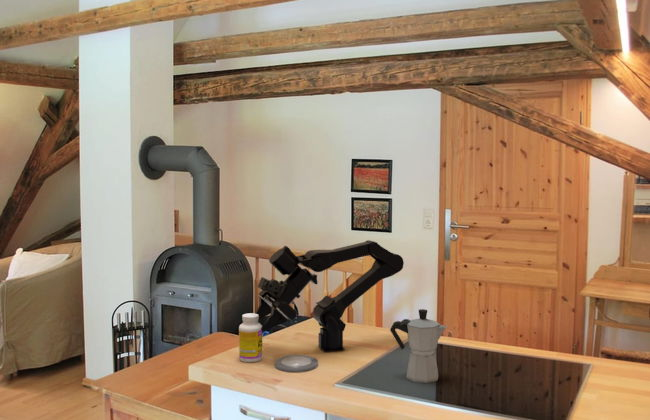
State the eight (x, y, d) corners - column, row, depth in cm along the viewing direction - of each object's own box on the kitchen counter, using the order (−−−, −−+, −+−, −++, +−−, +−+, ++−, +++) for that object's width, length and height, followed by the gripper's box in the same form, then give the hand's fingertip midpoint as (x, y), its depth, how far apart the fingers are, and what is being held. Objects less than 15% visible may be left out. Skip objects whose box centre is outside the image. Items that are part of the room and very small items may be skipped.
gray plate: (310, 356, 180) (310, 352, 179) (323, 369, 168) (323, 365, 168) (270, 360, 176) (270, 356, 176) (280, 374, 165) (280, 370, 164)
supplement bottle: (261, 363, 174) (260, 318, 173) (237, 363, 174) (236, 318, 173) (263, 355, 180) (263, 312, 179) (241, 355, 181) (240, 312, 180)
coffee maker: (448, 373, 165) (449, 307, 163) (445, 385, 156) (446, 315, 155) (392, 368, 169) (392, 304, 167) (387, 380, 160) (387, 311, 159)
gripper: (265, 262, 186) (229, 301, 183) (285, 273, 169) (246, 316, 166) (289, 286, 190) (255, 325, 187) (312, 298, 173) (274, 341, 170)
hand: (257, 326), depth 177 cm, fingers open, 9 cm apart
